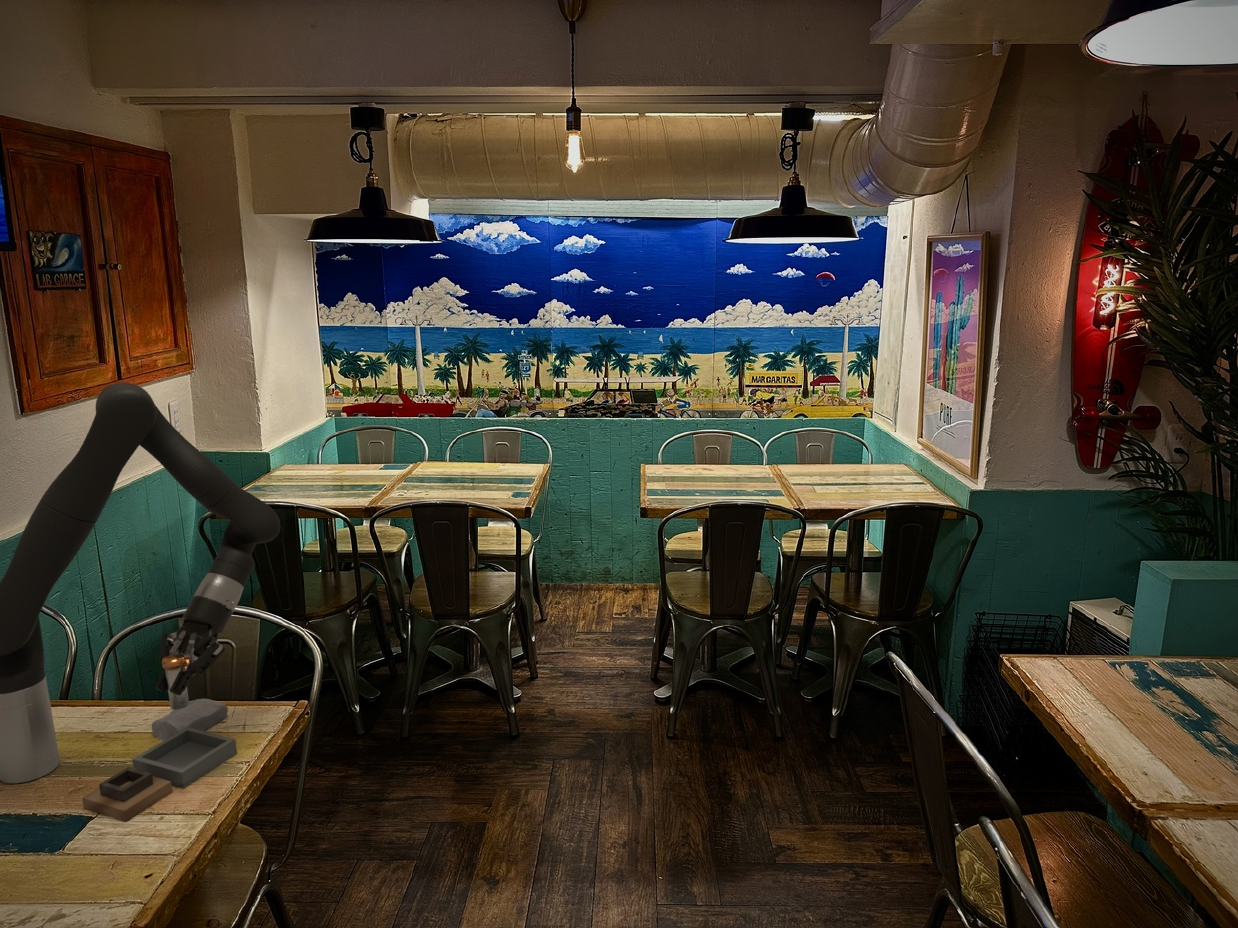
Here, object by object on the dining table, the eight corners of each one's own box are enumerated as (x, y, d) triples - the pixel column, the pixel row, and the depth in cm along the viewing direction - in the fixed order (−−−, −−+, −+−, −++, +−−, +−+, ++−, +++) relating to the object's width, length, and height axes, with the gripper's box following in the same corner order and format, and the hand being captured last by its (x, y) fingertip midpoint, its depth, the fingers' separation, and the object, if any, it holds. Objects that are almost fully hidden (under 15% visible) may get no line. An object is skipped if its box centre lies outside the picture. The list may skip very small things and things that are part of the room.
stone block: (148, 746, 169) (186, 745, 166) (142, 722, 169) (180, 721, 165) (196, 719, 180) (233, 717, 177) (191, 697, 180) (228, 695, 176)
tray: (134, 773, 157) (132, 758, 156) (189, 740, 167) (187, 726, 167) (183, 788, 152) (181, 772, 152) (237, 753, 163) (235, 738, 162)
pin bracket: (83, 808, 147) (80, 786, 146) (131, 779, 155) (128, 759, 154) (126, 821, 143) (123, 799, 142) (172, 791, 151) (169, 770, 150)
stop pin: (164, 708, 156) (157, 660, 154) (180, 699, 160) (174, 652, 158) (178, 711, 155) (172, 664, 153) (195, 702, 158) (189, 655, 156)
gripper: (172, 589, 162) (123, 678, 154) (230, 599, 157) (182, 691, 149) (199, 606, 168) (153, 692, 160) (255, 615, 163) (210, 705, 155)
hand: (167, 691), depth 155 cm, fingers closed on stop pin, 3 cm apart
